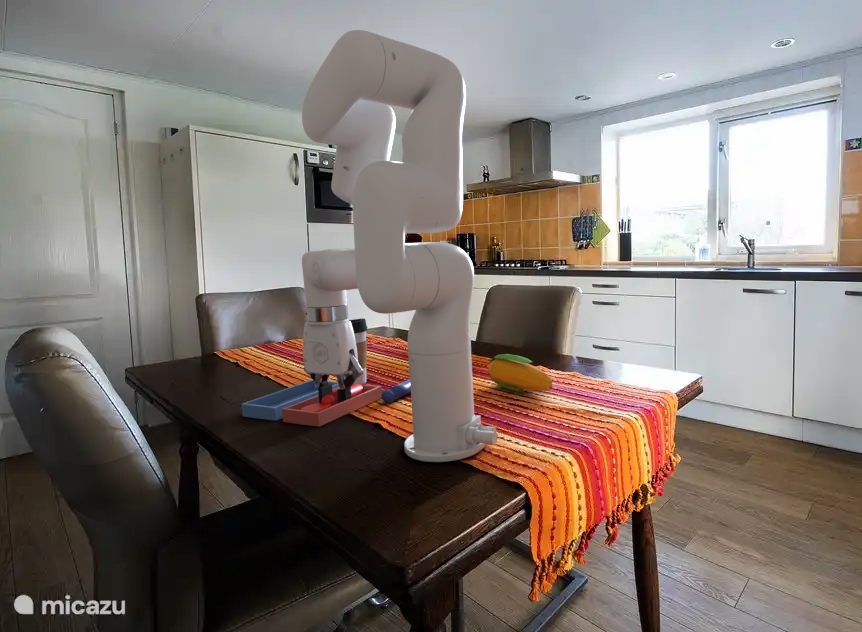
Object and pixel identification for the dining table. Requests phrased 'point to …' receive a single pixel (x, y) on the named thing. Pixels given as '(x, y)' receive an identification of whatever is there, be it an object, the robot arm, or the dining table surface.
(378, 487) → the dining table surface
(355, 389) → the red spoon
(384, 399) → the blue spoon
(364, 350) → the coffee cup
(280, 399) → the blue tray
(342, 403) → the rose tray
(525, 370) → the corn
